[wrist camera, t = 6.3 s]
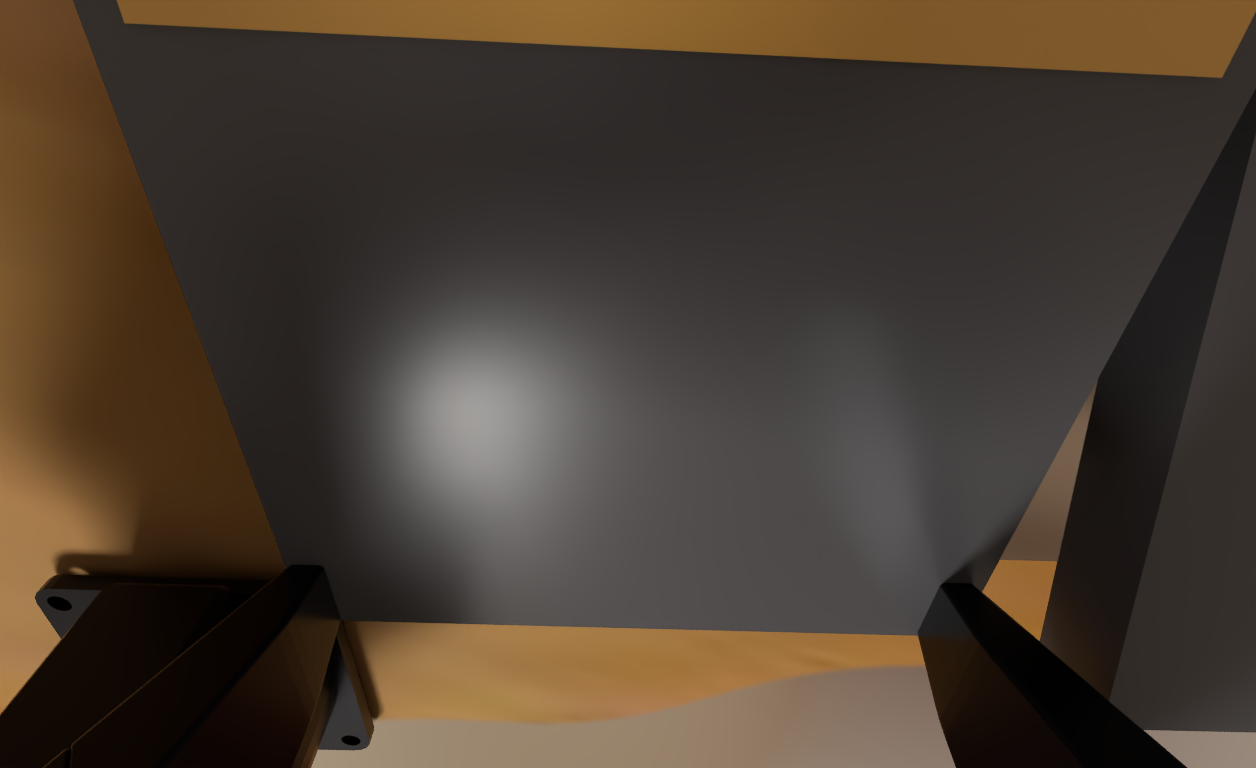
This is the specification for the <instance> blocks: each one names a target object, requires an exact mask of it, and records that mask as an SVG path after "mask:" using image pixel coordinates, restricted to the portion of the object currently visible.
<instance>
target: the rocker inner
mask: <svg viewBox="0 0 1256 768" xmlns="http://www.w3.org/2000/svg"><path fill="white" fill-rule="evenodd" d="M73 1H74V4H75V7H76V9H77V12H78V15H79V17H80V20H81V23H82V25H83V28H84V31H85V33H86V36H87V39H88V41H89V44H90V47H91V49H92V52H93V55H94V57H95V60H96V63H97V65H98V68H99V71H100V73H101V76H102V79H103V81H104V84H105V87H106V89H107V92H108V95H109V97H110V100H111V103H112V105H113V108H114V111H115V113H116V116H117V119H118V121H119V124H120V127H121V129H122V132H123V135H124V137H125V140H126V143H127V145H128V148H129V151H130V153H131V156H132V159H133V161H134V164H135V167H136V169H137V172H138V175H139V177H140V180H141V183H142V185H143V188H144V191H145V193H146V196H147V199H148V201H149V204H150V207H151V209H152V212H153V215H154V217H155V220H156V223H157V225H158V228H159V231H160V233H161V236H162V239H163V241H164V244H165V247H166V249H167V252H168V255H169V257H170V260H171V263H172V265H173V268H174V271H175V273H176V276H177V279H178V281H179V284H180V287H181V289H182V292H183V295H184V297H185V300H186V303H187V305H188V308H189V311H190V313H191V316H192V319H193V321H194V324H195V327H196V329H197V332H198V335H199V337H200V340H201V343H202V345H203V348H204V351H205V353H206V356H207V359H208V361H209V364H210V367H211V369H212V372H213V375H214V377H215V380H216V382H217V385H218V388H219V390H220V393H221V396H222V398H223V401H224V404H225V406H226V409H227V412H228V414H229V417H230V420H231V422H232V425H233V428H234V430H235V433H236V436H237V438H238V441H239V444H240V446H241V449H242V452H243V454H244V457H245V460H246V462H247V465H248V468H249V470H250V473H251V476H252V478H253V481H254V484H255V486H256V489H257V492H258V494H259V497H260V500H261V502H262V505H263V508H264V510H265V513H266V516H267V518H268V521H269V524H270V526H271V529H272V532H273V534H274V537H275V540H276V542H277V545H278V548H279V550H280V553H281V556H282V558H283V561H284V564H285V566H286V568H287V567H288V566H290V565H320V566H322V567H324V569H325V572H326V575H327V578H328V581H329V584H330V587H331V590H332V593H333V596H334V599H335V602H336V605H337V608H338V611H339V614H340V617H341V619H340V620H342V621H380V622H418V623H456V624H494V625H533V626H571V627H609V628H647V629H686V630H724V631H762V632H800V633H838V634H877V635H915V636H918V630H919V628H920V626H921V624H922V622H923V620H924V618H925V616H926V614H927V611H928V609H929V607H930V605H931V603H932V601H933V599H934V597H935V595H936V593H937V591H938V589H939V587H940V585H941V584H943V583H970V584H973V585H974V586H975V587H976V588H978V589H979V590H980V591H981V592H982V591H983V589H984V587H985V585H986V584H987V582H988V580H989V578H990V576H991V574H992V573H993V571H994V569H995V567H996V565H997V563H998V562H999V560H1000V558H1001V556H1002V554H1003V552H1004V551H1005V549H1006V547H1007V545H1008V543H1009V541H1010V540H1011V538H1012V536H1013V534H1014V532H1015V530H1016V528H1017V527H1018V525H1019V523H1020V521H1021V519H1022V517H1023V516H1024V514H1025V512H1026V510H1027V508H1028V506H1029V505H1030V503H1031V501H1032V499H1033V497H1034V495H1035V494H1036V492H1037V490H1038V488H1039V486H1040V484H1041V482H1042V481H1043V479H1044V477H1045V475H1046V473H1047V471H1048V470H1049V468H1050V466H1051V464H1052V462H1053V460H1054V459H1055V457H1056V455H1057V453H1058V451H1059V449H1060V448H1061V446H1062V444H1063V442H1064V440H1065V438H1066V437H1067V435H1068V433H1069V431H1070V429H1071V427H1072V425H1073V424H1074V422H1075V420H1076V418H1077V416H1078V414H1079V413H1080V411H1081V409H1082V407H1083V405H1084V403H1085V402H1086V400H1087V398H1088V396H1089V394H1090V392H1091V391H1092V389H1093V387H1094V385H1095V383H1096V381H1097V379H1098V378H1099V376H1100V374H1101V372H1102V370H1103V368H1104V367H1105V365H1106V363H1107V361H1108V359H1109V357H1110V356H1111V354H1112V352H1113V350H1114V348H1115V346H1116V345H1117V343H1118V341H1119V339H1120V337H1121V335H1122V334H1123V332H1124V330H1125V328H1126V326H1127V324H1128V322H1129V321H1130V319H1131V317H1132V315H1133V313H1134V311H1135V310H1136V308H1137V306H1138V304H1139V302H1140V300H1141V299H1142V297H1143V295H1144V293H1145V291H1146V289H1147V288H1148V286H1149V284H1150V282H1151V280H1152V278H1153V276H1154V275H1155V273H1156V271H1157V269H1158V267H1159V265H1160V264H1161V262H1162V260H1163V258H1164V256H1165V254H1166V253H1167V251H1168V249H1169V247H1170V245H1171V243H1172V242H1173V240H1174V238H1175V236H1176V234H1177V232H1178V231H1179V229H1180V227H1181V225H1182V223H1183V221H1184V219H1185V218H1186V216H1187V214H1188V212H1189V210H1190V208H1191V207H1192V205H1193V203H1194V201H1195V199H1196V197H1197V196H1198V194H1199V192H1200V190H1201V188H1202V186H1203V185H1204V183H1205V181H1206V179H1207V177H1208V175H1209V173H1210V172H1211V170H1212V168H1213V166H1214V164H1215V162H1216V161H1217V159H1218V157H1219V155H1220V153H1221V151H1222V150H1223V148H1224V146H1225V144H1226V142H1227V140H1228V139H1229V137H1230V135H1231V133H1232V131H1233V129H1234V128H1235V126H1236V124H1237V122H1238V120H1239V118H1240V116H1241V115H1242V113H1243V111H1244V109H1245V107H1246V105H1247V104H1248V102H1249V100H1250V98H1251V96H1252V94H1253V93H1254V91H1255V89H1256V0H73Z"/></svg>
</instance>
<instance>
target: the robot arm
mask: <svg viewBox="0 0 1256 768" xmlns="http://www.w3.org/2000/svg"><path fill="white" fill-rule="evenodd" d="M35 599H36V602H37V604H38V606H39V607H40V608H41V610H42V611H43V613H44V614H45V616H46V617H47V619H48V620H49V622H50V623H51V625H52V626H53V628H54V629H55V630H56V632H57V633H58V635H59V636H60V638H61V640H60V641H59V643H58V644H57V645H56V646H55V647H54V649H53V650H52V651H51V652H50V654H49V655H48V656H47V657H46V658H45V660H44V661H43V662H42V663H41V665H40V666H39V667H38V668H37V670H36V671H35V672H34V673H33V674H32V676H31V677H30V678H29V679H28V681H27V682H26V683H25V684H24V685H23V687H22V688H21V689H20V690H19V692H18V693H17V694H16V695H15V697H14V698H13V699H12V700H11V701H10V703H9V704H8V705H7V706H6V708H5V709H4V710H3V711H2V712H1V714H0V768H311V766H312V764H313V761H314V758H315V756H316V753H317V750H318V749H320V750H321V749H322V750H325V749H326V750H361V749H364V748H366V747H367V746H368V745H369V744H370V741H371V738H372V734H373V731H374V725H373V721H372V718H371V715H370V711H369V708H368V705H367V701H366V698H365V695H364V691H363V688H362V685H361V681H360V678H359V675H358V671H357V668H356V665H355V661H354V658H353V655H352V651H351V648H350V645H349V641H348V638H347V635H346V631H345V628H344V625H343V621H342V620H340V619H341V617H340V614H339V611H338V608H337V605H336V602H335V599H334V596H333V593H332V590H331V587H330V584H329V581H328V578H327V575H326V572H325V569H324V567H322V566H320V565H290V566H288V567H287V568H286V569H285V570H284V571H282V572H281V573H280V574H279V575H277V576H276V577H275V578H274V579H273V580H236V579H200V578H164V577H127V576H91V575H56V576H53V577H52V578H50V579H49V580H48V581H47V582H46V583H45V584H44V585H43V586H42V587H41V589H40V590H39V591H38V592H37V593H36V596H35ZM918 637H919V641H920V645H921V649H922V653H923V657H924V662H925V666H926V670H927V673H928V678H929V682H930V686H931V690H932V694H933V698H934V702H935V706H936V710H937V713H938V717H939V720H940V723H941V726H942V729H943V732H944V735H945V738H946V741H947V744H948V747H949V749H950V752H951V755H952V758H953V761H954V763H955V766H956V768H1187V767H1186V766H1185V765H1183V764H1182V763H1181V762H1180V761H1179V760H1178V759H1176V758H1175V757H1174V756H1173V755H1172V754H1171V753H1170V752H1168V751H1167V750H1166V749H1165V748H1164V747H1162V746H1161V745H1160V744H1159V743H1158V742H1157V741H1155V740H1154V739H1153V738H1152V737H1151V736H1149V735H1148V734H1147V733H1146V732H1145V731H1144V730H1143V729H1141V728H1140V727H1139V726H1138V725H1137V724H1136V723H1134V722H1133V721H1132V720H1131V719H1130V718H1129V717H1127V716H1126V715H1125V714H1124V713H1123V712H1122V711H1120V710H1119V709H1118V708H1117V707H1116V706H1114V705H1113V704H1112V703H1111V702H1110V701H1109V700H1107V699H1106V698H1105V697H1104V696H1103V695H1102V694H1100V693H1099V692H1098V691H1097V690H1096V689H1095V688H1093V687H1092V686H1091V685H1090V684H1089V683H1088V682H1086V681H1085V680H1084V679H1083V678H1082V677H1081V676H1079V675H1078V674H1077V673H1076V672H1075V671H1074V670H1072V669H1071V668H1070V667H1069V666H1068V665H1067V664H1065V663H1064V662H1063V661H1062V660H1061V659H1059V658H1058V657H1057V656H1056V655H1055V654H1054V653H1052V652H1051V651H1050V650H1049V649H1048V648H1047V647H1045V646H1044V645H1043V644H1042V643H1041V642H1040V641H1038V640H1037V639H1036V638H1035V637H1034V636H1033V635H1031V634H1030V633H1029V632H1028V631H1027V630H1026V629H1024V628H1023V627H1022V626H1021V625H1020V624H1019V623H1017V622H1016V621H1015V620H1014V619H1013V618H1011V617H1010V616H1009V615H1008V614H1007V613H1006V612H1004V611H1003V610H1002V609H1001V608H1000V607H999V606H997V605H996V604H995V603H994V602H993V601H992V600H990V599H989V598H988V597H987V596H986V595H985V594H983V593H982V592H981V591H980V590H979V589H978V588H976V587H975V586H974V585H973V584H970V583H943V584H941V585H940V587H939V589H938V591H937V593H936V595H935V597H934V599H933V601H932V603H931V605H930V607H929V609H928V611H927V614H926V616H925V618H924V620H923V622H922V624H921V626H920V628H919V630H918Z"/></svg>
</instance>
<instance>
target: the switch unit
mask: <svg viewBox="0 0 1256 768" xmlns="http://www.w3.org/2000/svg"><path fill="white" fill-rule="evenodd" d="M1097 381H1098V379H1097ZM1097 381H1096V383H1095V385H1094V387H1093V389H1092V391H1091V392H1090V394H1089V396H1088V398H1087V400H1086V402H1085V403H1084V405H1083V407H1082V409H1081V411H1080V413H1079V414H1078V416H1077V418H1076V420H1075V422H1074V424H1073V425H1072V427H1071V429H1070V431H1069V433H1068V435H1067V437H1066V438H1065V440H1064V442H1063V444H1062V446H1061V448H1060V449H1059V451H1058V453H1057V455H1056V457H1055V459H1054V460H1053V462H1052V464H1051V466H1050V468H1049V470H1048V471H1047V473H1046V475H1045V477H1044V479H1043V481H1042V482H1041V484H1040V486H1039V488H1038V490H1037V492H1036V494H1035V495H1034V497H1033V499H1032V501H1031V503H1030V505H1029V506H1028V508H1027V510H1026V512H1025V514H1024V516H1023V517H1022V519H1021V521H1020V523H1019V525H1018V527H1017V528H1016V530H1015V532H1014V534H1013V536H1012V538H1011V540H1010V541H1009V543H1008V545H1007V547H1006V549H1005V551H1004V552H1003V554H1002V556H1001V558H1000V560H1033V561H1058V557H1059V553H1060V548H1061V544H1062V539H1063V535H1064V530H1065V526H1066V521H1067V516H1068V512H1069V507H1070V503H1071V498H1072V494H1073V489H1074V485H1075V480H1076V476H1077V471H1078V467H1079V462H1080V458H1081V453H1082V449H1083V444H1084V440H1085V435H1086V431H1087V426H1088V422H1089V417H1090V413H1091V408H1092V404H1093V399H1094V395H1095V390H1096V386H1097Z"/></svg>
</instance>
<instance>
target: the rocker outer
mask: <svg viewBox="0 0 1256 768" xmlns="http://www.w3.org/2000/svg"><path fill="white" fill-rule="evenodd" d="M1040 642H1041V643H1042V644H1043V645H1044V646H1045V647H1047V648H1048V649H1049V650H1050V651H1051V652H1052V653H1054V654H1055V655H1056V656H1057V657H1058V658H1059V659H1061V660H1062V661H1063V662H1064V663H1065V664H1067V665H1068V666H1069V667H1070V668H1071V669H1072V670H1074V671H1075V672H1076V673H1077V674H1078V675H1079V676H1081V677H1082V678H1083V679H1084V680H1085V681H1086V682H1088V683H1089V684H1090V685H1091V686H1092V687H1093V688H1095V689H1096V690H1097V691H1098V692H1099V693H1100V694H1102V695H1103V696H1104V697H1105V698H1106V699H1107V700H1109V701H1110V702H1111V703H1112V704H1113V705H1114V706H1116V707H1117V708H1118V709H1119V710H1120V711H1122V712H1123V713H1124V714H1125V715H1126V716H1127V717H1129V718H1130V719H1131V720H1132V721H1133V722H1134V723H1136V724H1137V725H1138V726H1139V727H1140V728H1141V729H1143V730H1173V731H1217V732H1218V731H1219V732H1222V731H1223V732H1256V89H1255V91H1254V93H1253V94H1252V96H1251V98H1250V100H1249V102H1248V104H1247V105H1246V107H1245V109H1244V111H1243V113H1242V115H1241V116H1240V118H1239V120H1238V122H1237V124H1236V126H1235V128H1234V129H1233V131H1232V133H1231V135H1230V137H1229V139H1228V140H1227V142H1226V144H1225V146H1224V148H1223V150H1222V151H1221V153H1220V155H1219V157H1218V159H1217V161H1216V162H1215V164H1214V166H1213V168H1212V170H1211V172H1210V173H1209V175H1208V177H1207V179H1206V181H1205V183H1204V185H1203V186H1202V188H1201V190H1200V192H1199V194H1198V196H1197V197H1196V199H1195V201H1194V203H1193V205H1192V207H1191V208H1190V210H1189V212H1188V214H1187V216H1186V218H1185V219H1184V221H1183V223H1182V225H1181V227H1180V229H1179V231H1178V232H1177V234H1176V236H1175V238H1174V240H1173V242H1172V243H1171V245H1170V247H1169V249H1168V251H1167V253H1166V254H1165V256H1164V258H1163V260H1162V262H1161V264H1160V265H1159V267H1158V269H1157V271H1156V273H1155V275H1154V276H1153V278H1152V280H1151V282H1150V284H1149V286H1148V288H1147V289H1146V291H1145V293H1144V295H1143V297H1142V299H1141V300H1140V302H1139V304H1138V306H1137V308H1136V310H1135V311H1134V313H1133V315H1132V317H1131V319H1130V321H1129V322H1128V324H1127V326H1126V328H1125V330H1124V332H1123V334H1122V335H1121V337H1120V339H1119V341H1118V343H1117V345H1116V346H1115V348H1114V350H1113V352H1112V354H1111V356H1110V357H1109V359H1108V361H1107V363H1106V365H1105V367H1104V368H1103V370H1102V372H1101V374H1100V376H1099V378H1098V381H1097V386H1096V390H1095V395H1094V399H1093V404H1092V408H1091V413H1090V417H1089V422H1088V426H1087V431H1086V435H1085V440H1084V444H1083V449H1082V453H1081V458H1080V462H1079V467H1078V471H1077V476H1076V480H1075V485H1074V489H1073V494H1072V498H1071V503H1070V507H1069V512H1068V516H1067V521H1066V526H1065V530H1064V535H1063V539H1062V544H1061V548H1060V553H1059V557H1058V562H1057V566H1056V571H1055V575H1054V580H1053V584H1052V589H1051V593H1050V598H1049V602H1048V607H1047V611H1046V616H1045V620H1044V625H1043V629H1042V634H1041V638H1040Z"/></svg>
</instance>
